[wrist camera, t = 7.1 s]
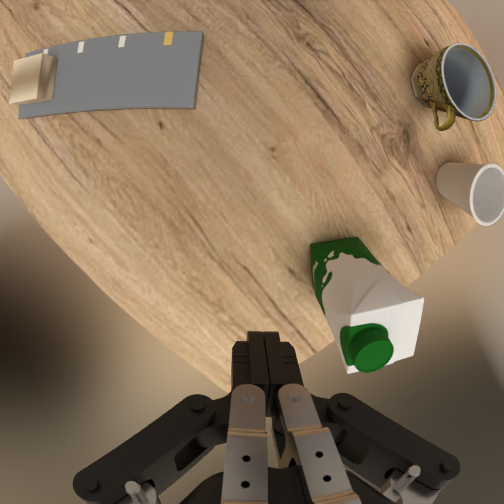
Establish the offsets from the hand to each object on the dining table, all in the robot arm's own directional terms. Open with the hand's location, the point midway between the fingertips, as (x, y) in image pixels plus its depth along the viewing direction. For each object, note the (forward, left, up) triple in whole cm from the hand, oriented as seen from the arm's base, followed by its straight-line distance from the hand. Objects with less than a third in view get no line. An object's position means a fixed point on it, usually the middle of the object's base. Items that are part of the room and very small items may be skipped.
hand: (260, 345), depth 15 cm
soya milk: (+7, +14, -27) cm, 31 cm away
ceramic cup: (-20, +24, -27) cm, 42 cm away
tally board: (-17, -20, -27) cm, 38 cm away
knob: (-17, -29, -25) cm, 42 cm away
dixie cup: (-8, +31, -27) cm, 42 cm away
